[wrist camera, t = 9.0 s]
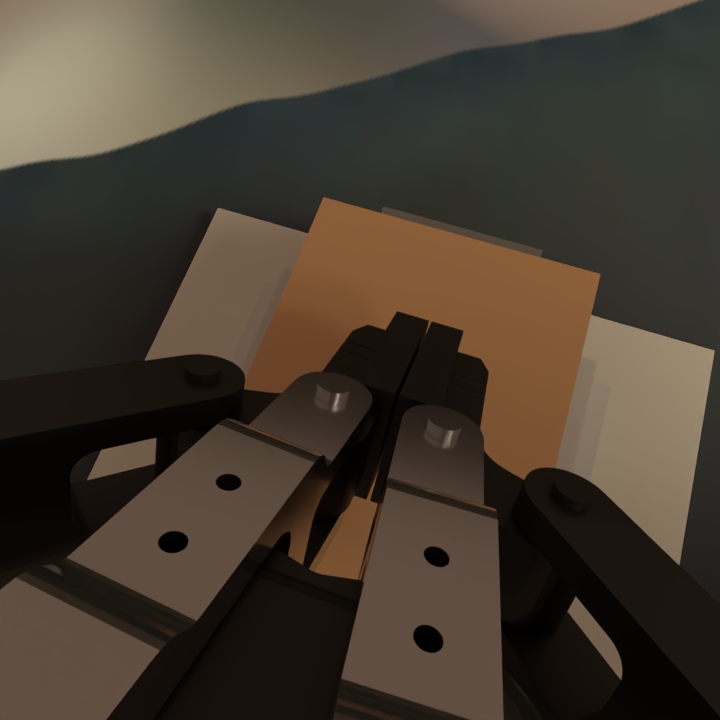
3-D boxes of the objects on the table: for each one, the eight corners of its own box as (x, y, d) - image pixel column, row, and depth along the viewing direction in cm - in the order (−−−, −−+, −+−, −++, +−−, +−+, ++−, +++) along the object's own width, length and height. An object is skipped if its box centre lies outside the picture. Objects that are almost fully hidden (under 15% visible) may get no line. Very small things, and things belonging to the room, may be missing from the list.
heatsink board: (697, 361, 23) (858, 262, 15) (610, 868, 18) (784, 1103, 10) (225, 223, 25) (158, 80, 18) (33, 629, 20) (-175, 673, 13)
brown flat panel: (463, 803, 13) (585, 293, 17) (471, 826, 12) (600, 273, 16) (139, 669, 14) (327, 220, 18) (118, 678, 13) (323, 197, 17)
